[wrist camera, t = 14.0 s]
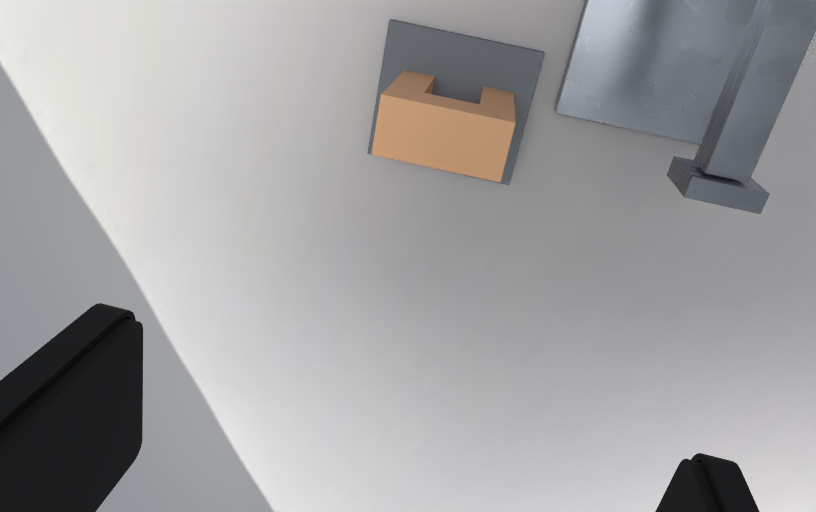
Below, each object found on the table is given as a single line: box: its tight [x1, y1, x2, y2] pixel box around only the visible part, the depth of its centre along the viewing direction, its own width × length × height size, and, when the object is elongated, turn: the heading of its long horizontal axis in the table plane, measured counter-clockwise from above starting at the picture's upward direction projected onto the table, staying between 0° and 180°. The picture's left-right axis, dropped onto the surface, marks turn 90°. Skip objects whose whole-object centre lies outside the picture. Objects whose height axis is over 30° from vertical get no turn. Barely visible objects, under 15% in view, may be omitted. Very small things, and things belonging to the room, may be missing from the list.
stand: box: [555, 0, 816, 214], centre depth 28 cm, size 10×12×15 cm
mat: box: [368, 19, 544, 185], centre depth 38 cm, size 9×8×1 cm
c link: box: [371, 70, 516, 182], centre depth 34 cm, size 6×3×8 cm, turn 80°
